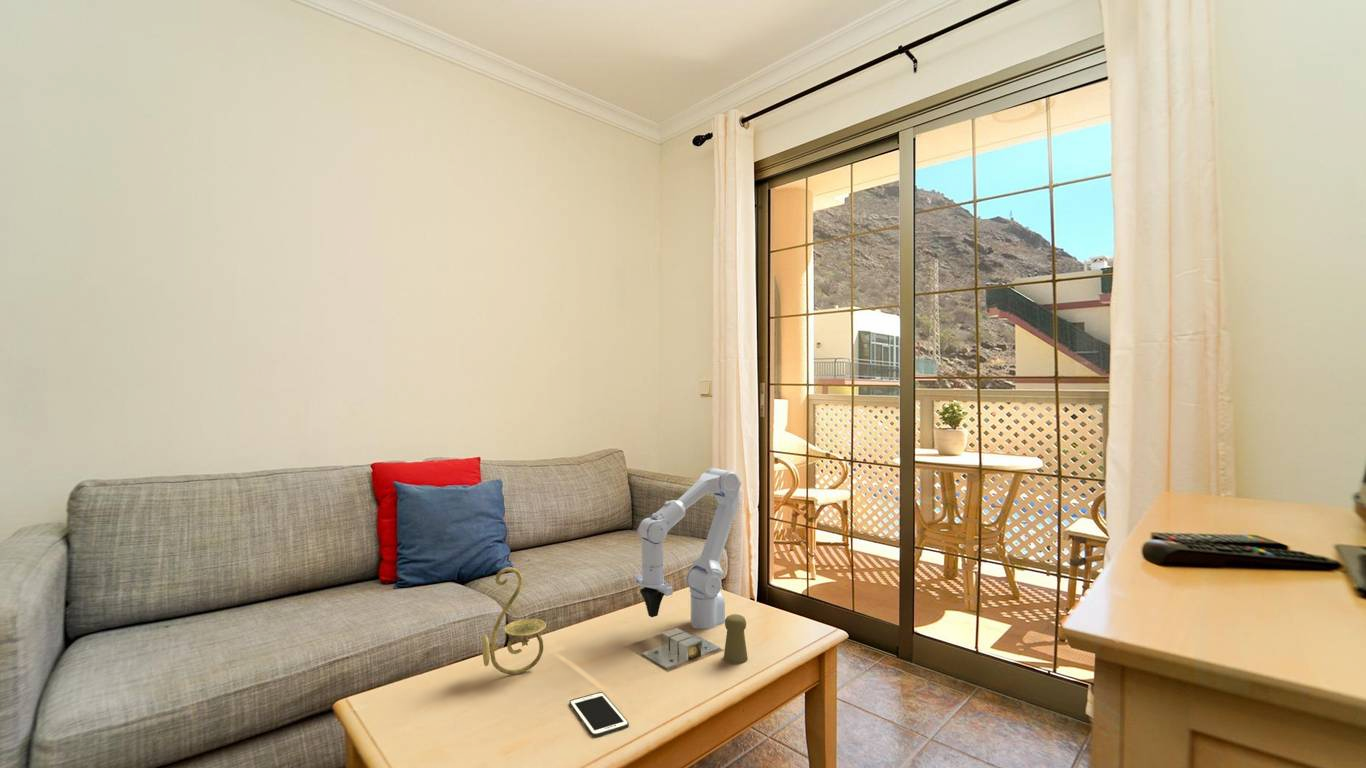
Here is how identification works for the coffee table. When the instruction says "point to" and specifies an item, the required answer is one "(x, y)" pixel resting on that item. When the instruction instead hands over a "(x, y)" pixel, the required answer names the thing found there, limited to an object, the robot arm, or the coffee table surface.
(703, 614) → the robot arm
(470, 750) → the coffee table surface
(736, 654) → the olive green pawn
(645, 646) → the board
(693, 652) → the pin
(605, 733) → the cell phone
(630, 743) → the coffee table surface
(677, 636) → the hinge leaves
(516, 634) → the wall sconce
